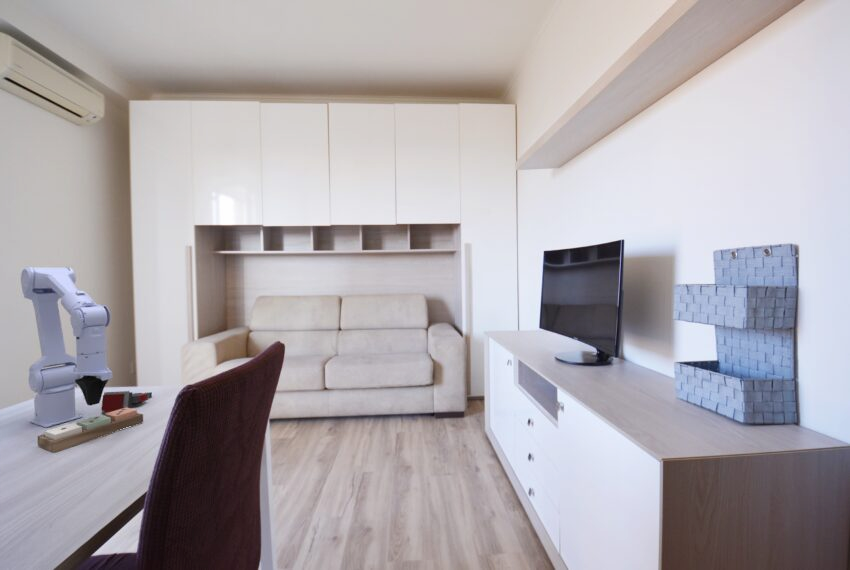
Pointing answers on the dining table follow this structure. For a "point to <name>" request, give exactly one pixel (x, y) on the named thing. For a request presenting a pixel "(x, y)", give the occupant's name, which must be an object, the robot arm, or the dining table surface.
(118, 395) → the toy
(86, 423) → the sage tile
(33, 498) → the dining table surface
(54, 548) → the dining table surface
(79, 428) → the cream tile
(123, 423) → the board
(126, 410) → the terracotta tile
